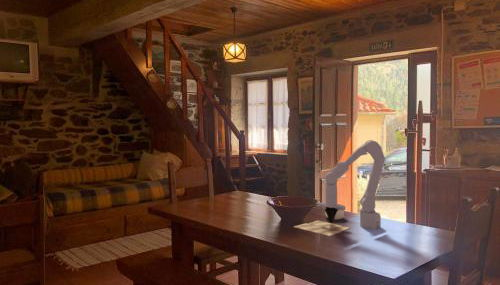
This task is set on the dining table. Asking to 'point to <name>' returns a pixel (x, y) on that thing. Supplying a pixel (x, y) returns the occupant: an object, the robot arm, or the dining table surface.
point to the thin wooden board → (317, 229)
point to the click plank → (329, 225)
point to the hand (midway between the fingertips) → (331, 222)
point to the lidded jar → (338, 214)
